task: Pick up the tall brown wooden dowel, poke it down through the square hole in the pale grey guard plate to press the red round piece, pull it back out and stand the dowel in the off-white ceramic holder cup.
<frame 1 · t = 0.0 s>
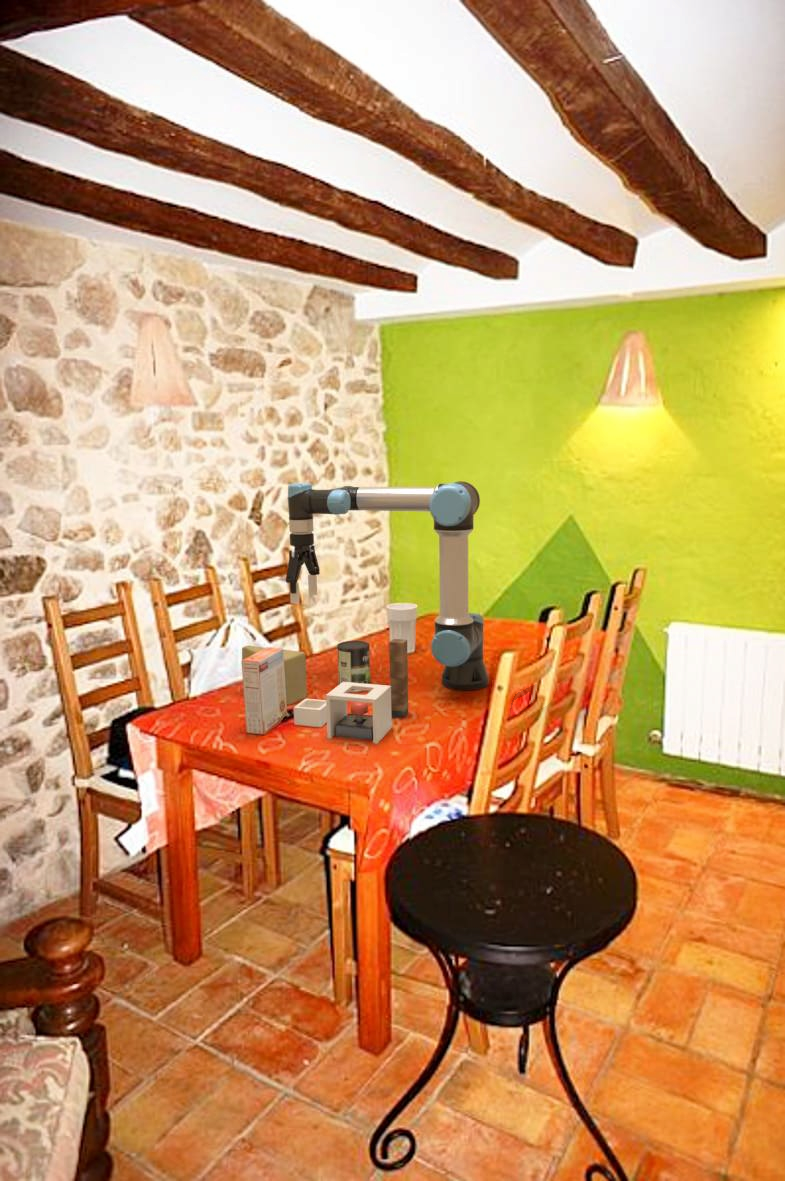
hand: (304, 599, 256), 28 cm above the table, fingers open, 13 cm apart
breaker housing: (360, 732, 217), on the table
cup: (402, 652, 297), on the table
guard: (360, 732, 217), on the table
brown wooden dowel: (399, 715, 230), on the table
beige block: (270, 696, 250), on the table
holder: (313, 721, 227), on the table
cracker box: (266, 726, 224), on the table
red round piece: (359, 713, 216), point 6 cm above the table, slide at 0.0 cm
coffee can: (354, 687, 256), on the table
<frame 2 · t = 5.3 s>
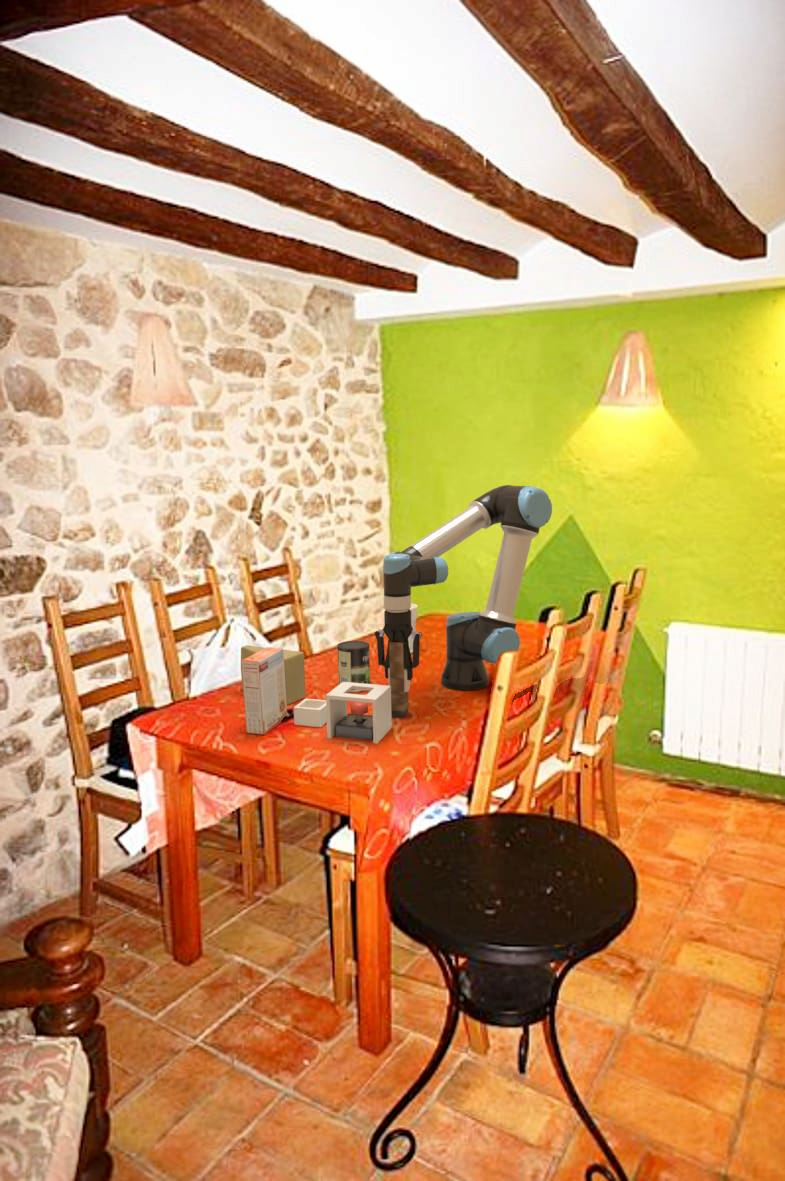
hand: (399, 689, 229), 8 cm above the table, fingers closed on brown wooden dowel, 4 cm apart
brown wooden dowel: (399, 715, 230), on the table, touching gripper
everything else where it was.
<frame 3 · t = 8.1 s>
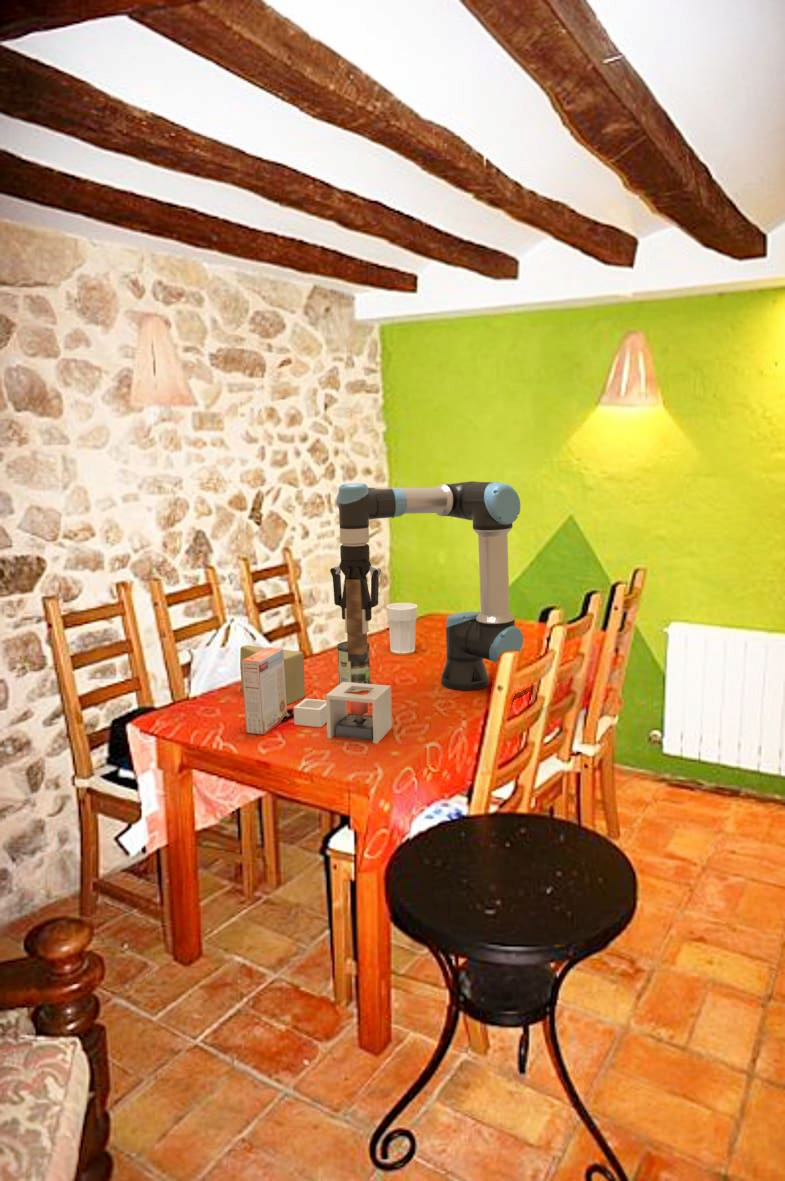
hand: (357, 631, 212), 28 cm above the table, fingers closed on brown wooden dowel, 4 cm apart
brown wooden dowel: (357, 659, 213), point 20 cm above the table, touching gripper
everything else where it was.
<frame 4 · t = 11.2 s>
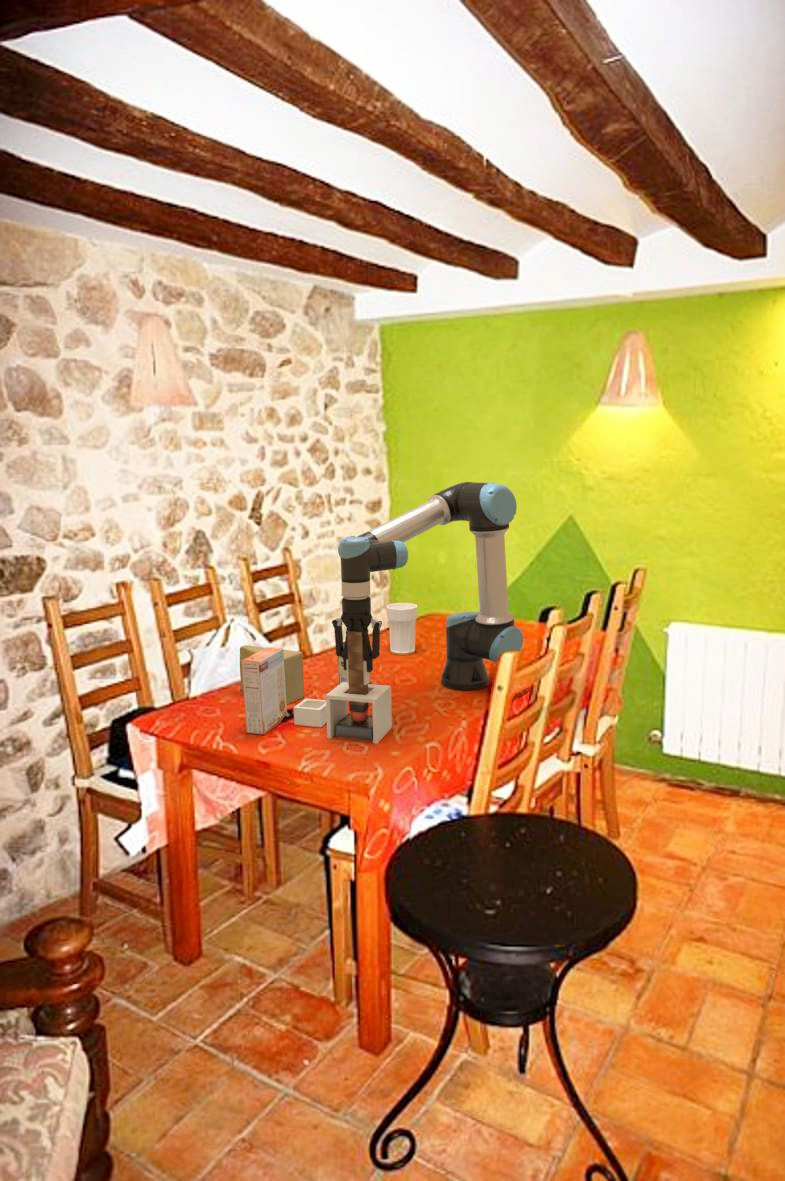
hand: (358, 682, 214), 14 cm above the table, fingers closed on brown wooden dowel, 4 cm apart
brown wooden dowel: (359, 709, 216), point 7 cm above the table, touching gripper, red round piece
red round piece: (359, 720, 216), point 4 cm above the table, slide at 1.9 cm, touching brown wooden dowel
everything else where it was.
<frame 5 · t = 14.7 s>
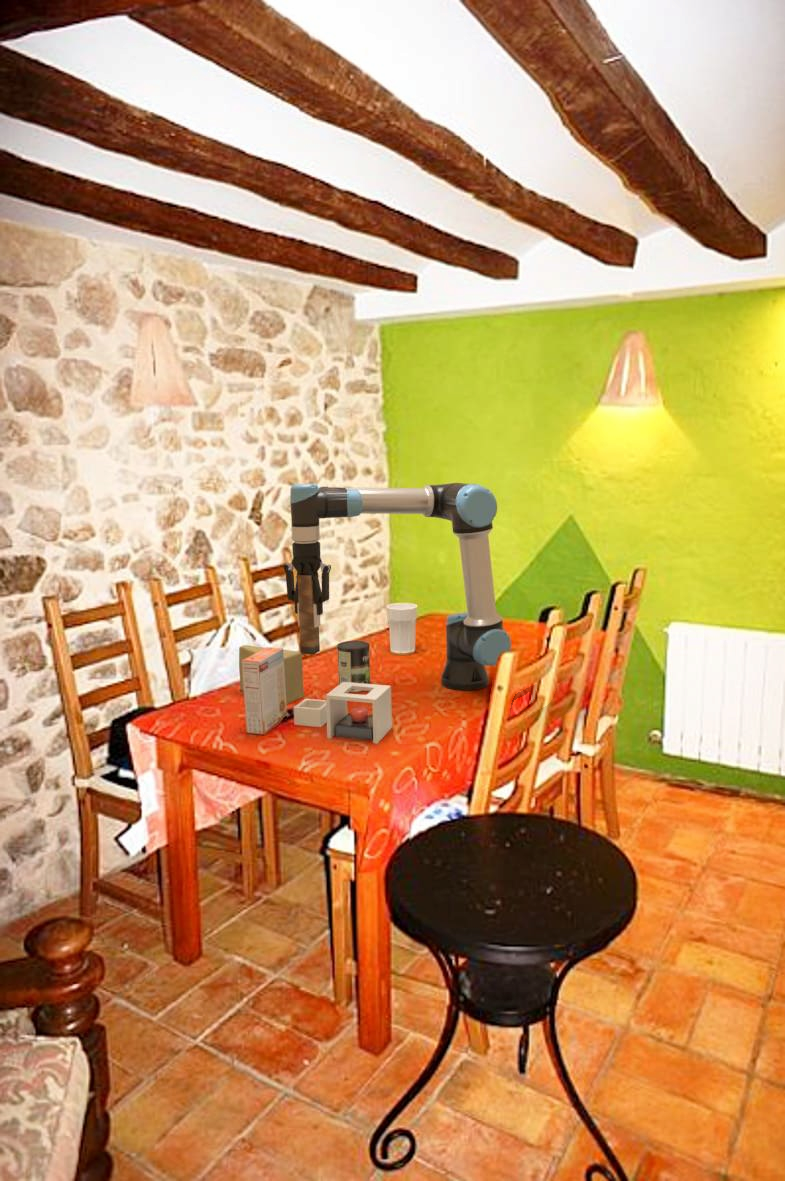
hand: (309, 625, 221), 28 cm above the table, fingers closed on brown wooden dowel, 4 cm apart
brown wooden dowel: (310, 652, 223), point 20 cm above the table, touching gripper
red round piece: (359, 720, 216), point 4 cm above the table, slide at 2.0 cm
when the fingers open (10 cm above the table, at t = 18.1 s): brown wooden dowel drops 2 cm, resting on holder.
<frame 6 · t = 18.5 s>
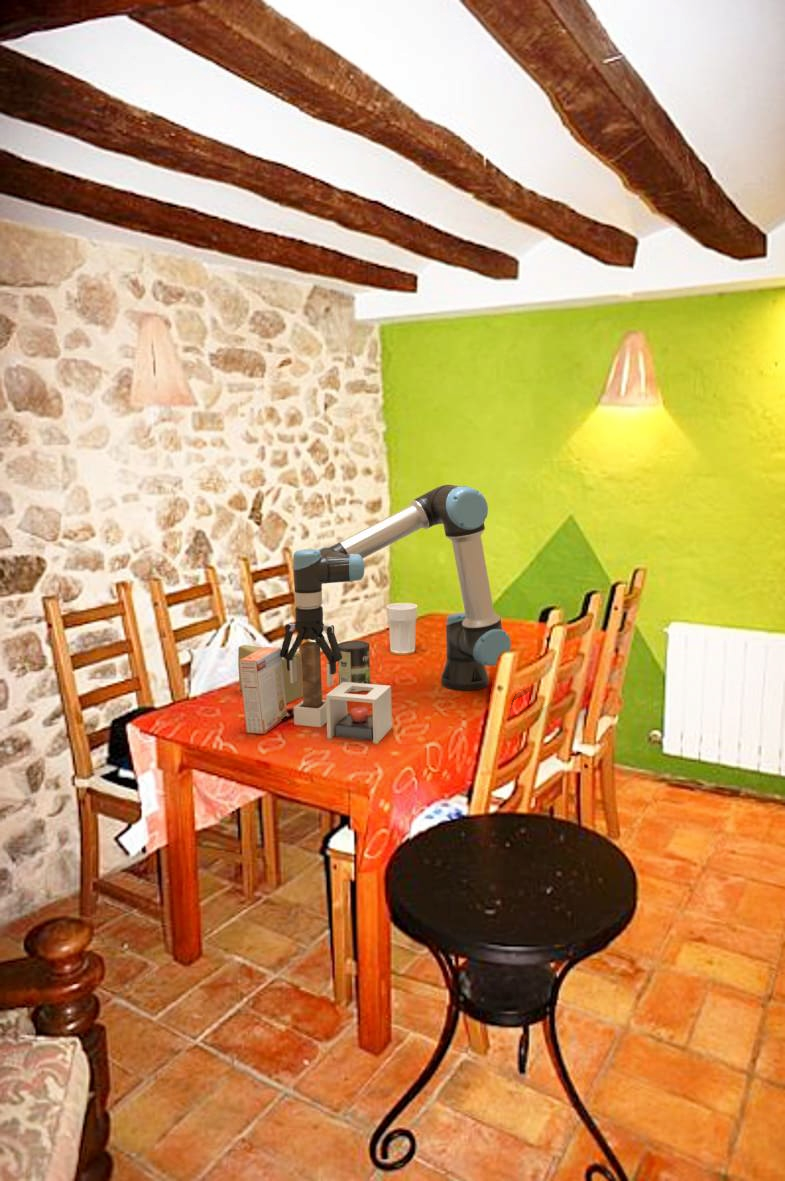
hand: (311, 683, 225), 11 cm above the table, fingers open, 10 cm apart
brown wooden dowel: (313, 719, 227), point 1 cm above the table, touching holder
cracker box: (266, 726, 224), on the table, touching hand
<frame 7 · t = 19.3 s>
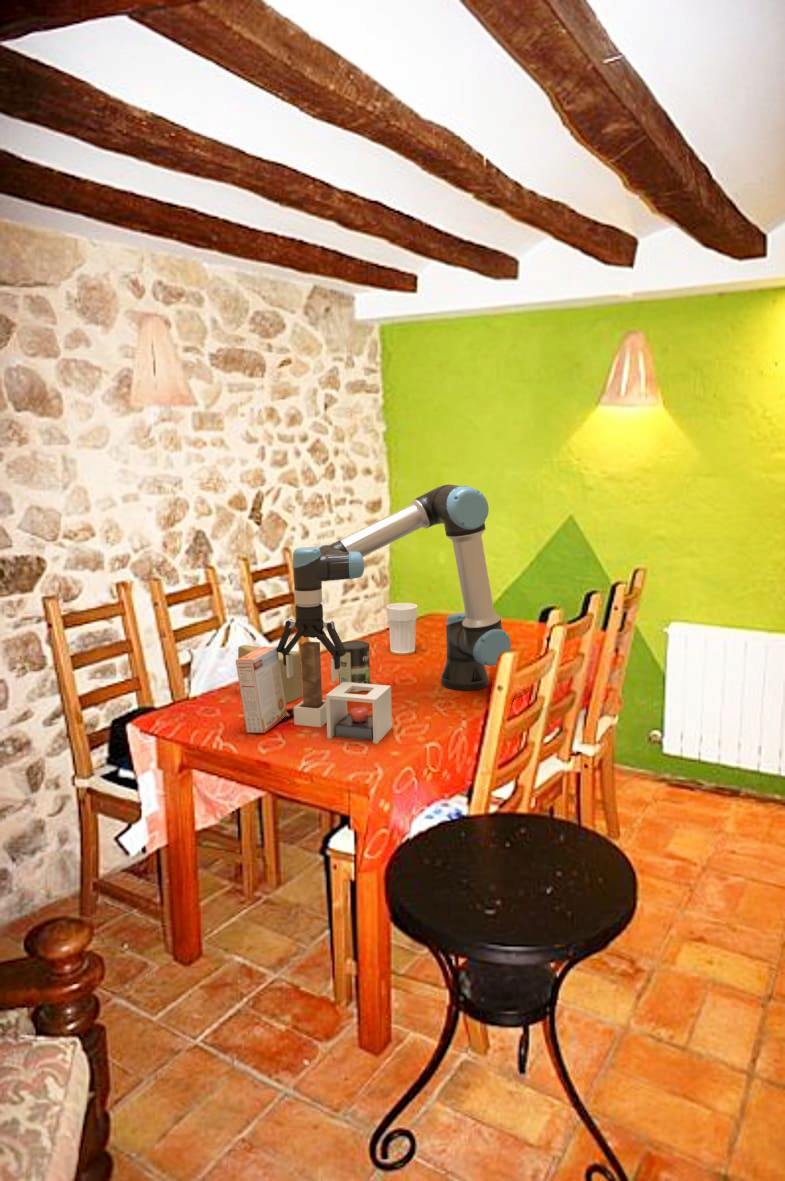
hand: (312, 678, 224), 12 cm above the table, fingers open, 13 cm apart
cracker box: (267, 725, 224), on the table, touching gripper
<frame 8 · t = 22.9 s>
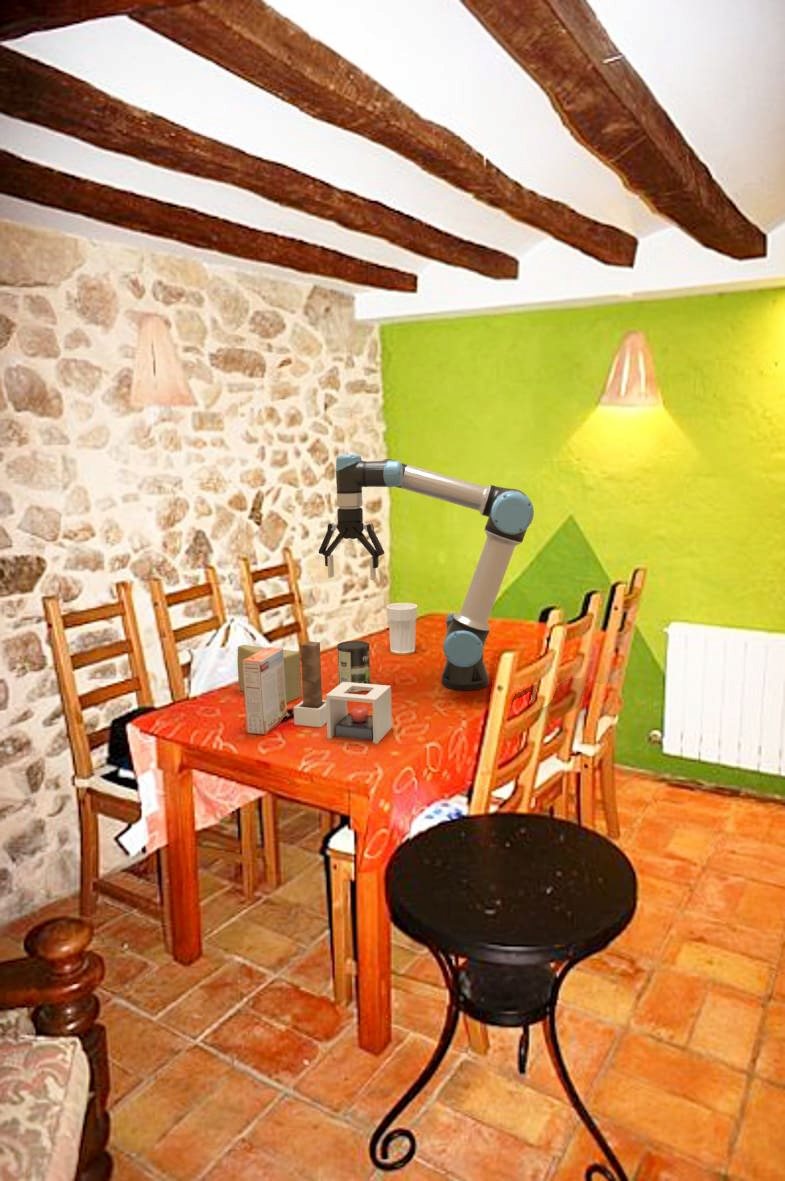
hand: (351, 578, 242), 37 cm above the table, fingers open, 13 cm apart
cracker box: (267, 726, 224), on the table
at the end: red round piece slide at 2.0 cm; brown wooden dowel 0.1 cm off-centre on the holder, point 0.6 cm above the holder's base; brown wooden dowel tilted 0° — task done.
